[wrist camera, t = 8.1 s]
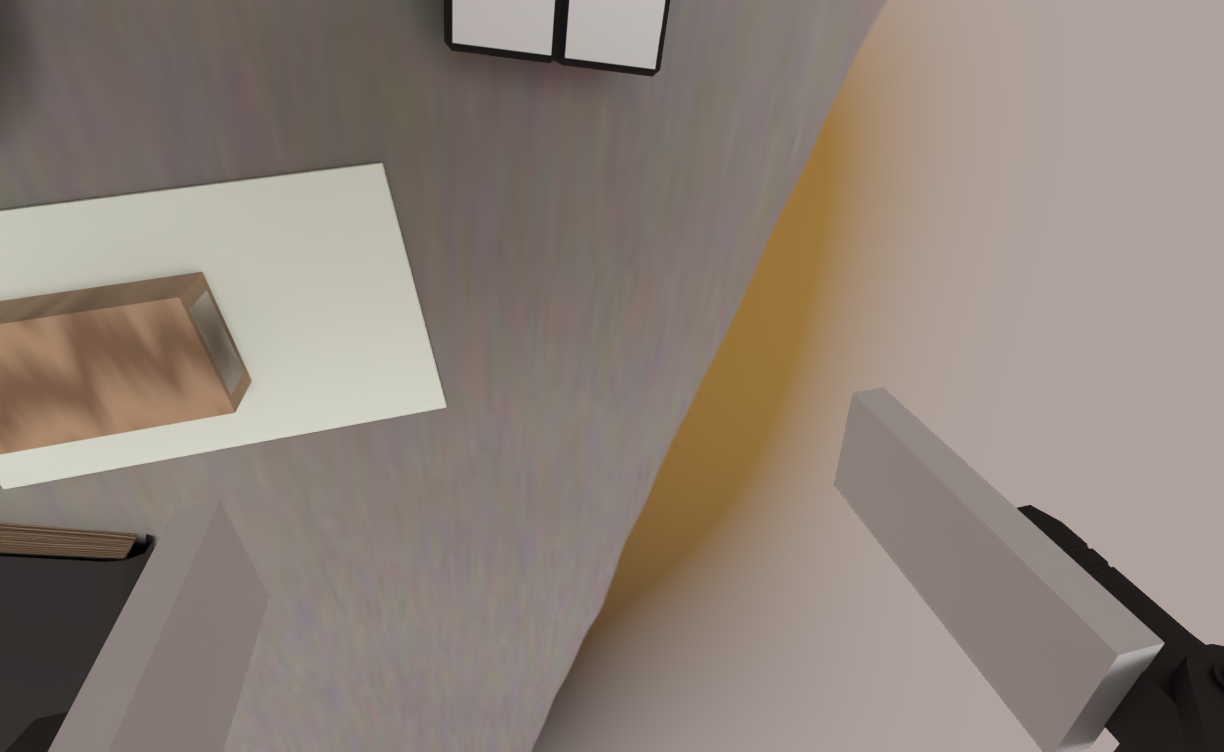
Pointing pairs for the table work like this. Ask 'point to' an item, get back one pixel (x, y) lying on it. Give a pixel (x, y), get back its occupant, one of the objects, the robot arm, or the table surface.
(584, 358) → the table surface
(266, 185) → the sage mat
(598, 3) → the puzzle cube
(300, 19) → the table surface
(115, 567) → the file folder
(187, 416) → the walnut block
